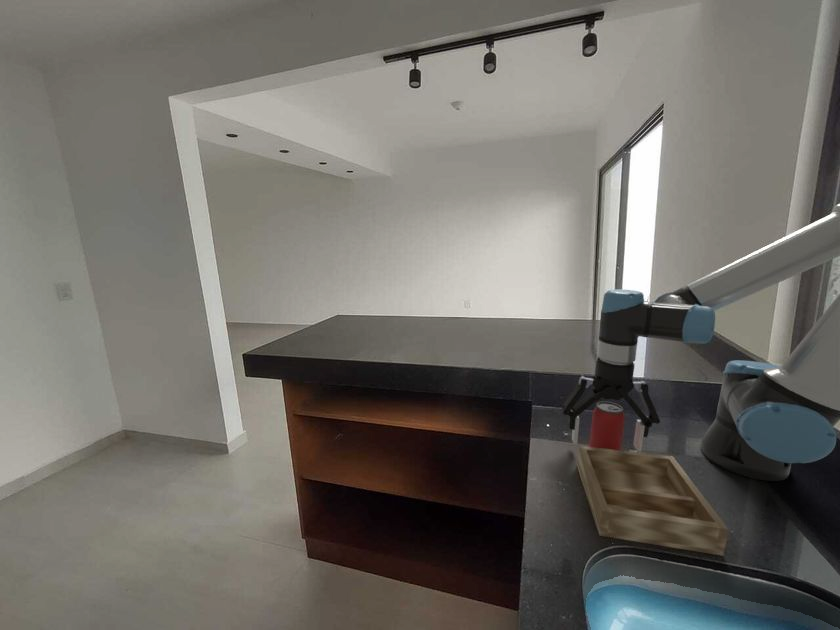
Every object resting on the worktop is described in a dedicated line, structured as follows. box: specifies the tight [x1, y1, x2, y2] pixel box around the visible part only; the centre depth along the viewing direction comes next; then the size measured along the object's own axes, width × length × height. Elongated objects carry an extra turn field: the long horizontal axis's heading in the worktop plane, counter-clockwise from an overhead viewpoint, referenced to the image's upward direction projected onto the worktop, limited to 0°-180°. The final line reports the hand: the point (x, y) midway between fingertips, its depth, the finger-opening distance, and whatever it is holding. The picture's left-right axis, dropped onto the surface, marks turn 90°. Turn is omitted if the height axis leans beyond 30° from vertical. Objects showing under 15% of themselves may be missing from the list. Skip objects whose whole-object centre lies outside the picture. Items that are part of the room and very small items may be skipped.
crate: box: [576, 445, 729, 557], centre depth 68 cm, size 18×19×5 cm
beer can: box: [588, 401, 626, 451], centre depth 82 cm, size 7×7×12 cm
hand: (605, 444), depth 83 cm, fingers open, 13 cm apart
